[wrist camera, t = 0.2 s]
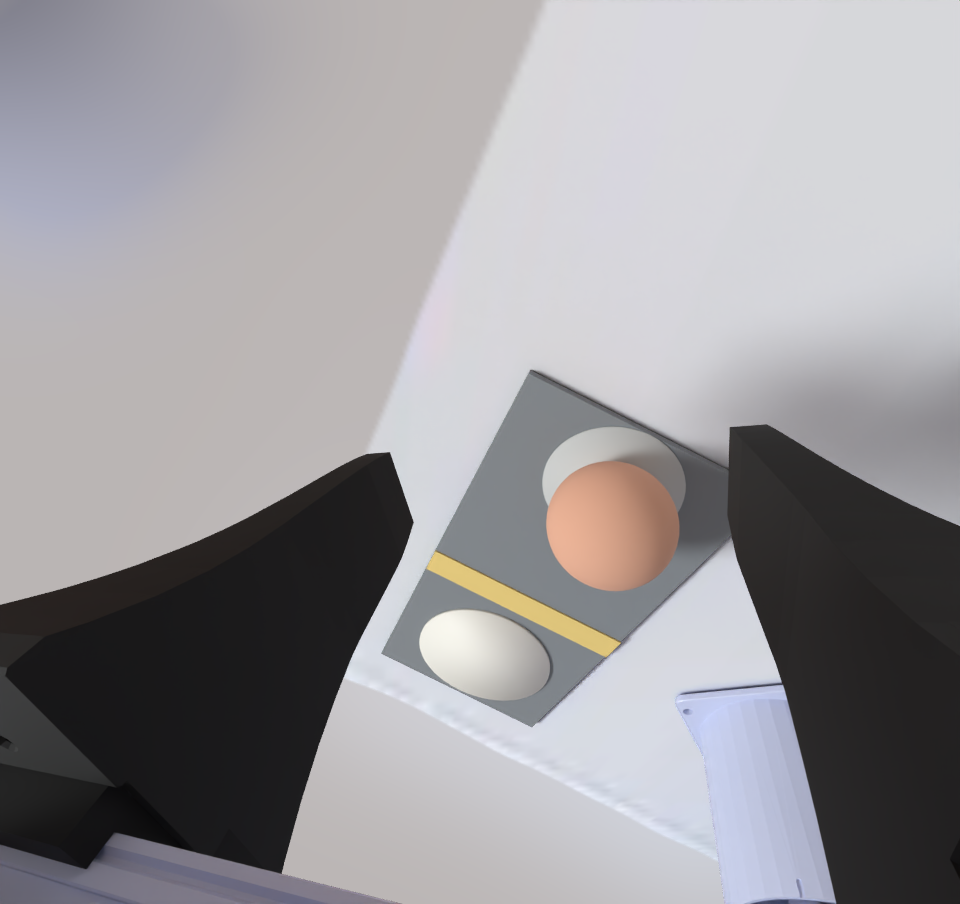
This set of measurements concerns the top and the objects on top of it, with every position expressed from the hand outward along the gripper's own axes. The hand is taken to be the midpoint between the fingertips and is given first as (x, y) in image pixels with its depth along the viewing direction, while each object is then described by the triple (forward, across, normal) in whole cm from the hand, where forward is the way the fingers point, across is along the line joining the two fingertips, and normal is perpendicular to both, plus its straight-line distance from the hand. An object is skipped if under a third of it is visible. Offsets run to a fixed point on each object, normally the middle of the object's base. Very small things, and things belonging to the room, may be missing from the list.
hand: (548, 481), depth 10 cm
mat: (+10, +4, +13) cm, 17 cm away
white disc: (+10, +8, +18) cm, 22 cm away
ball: (+7, -1, +7) cm, 10 cm away
